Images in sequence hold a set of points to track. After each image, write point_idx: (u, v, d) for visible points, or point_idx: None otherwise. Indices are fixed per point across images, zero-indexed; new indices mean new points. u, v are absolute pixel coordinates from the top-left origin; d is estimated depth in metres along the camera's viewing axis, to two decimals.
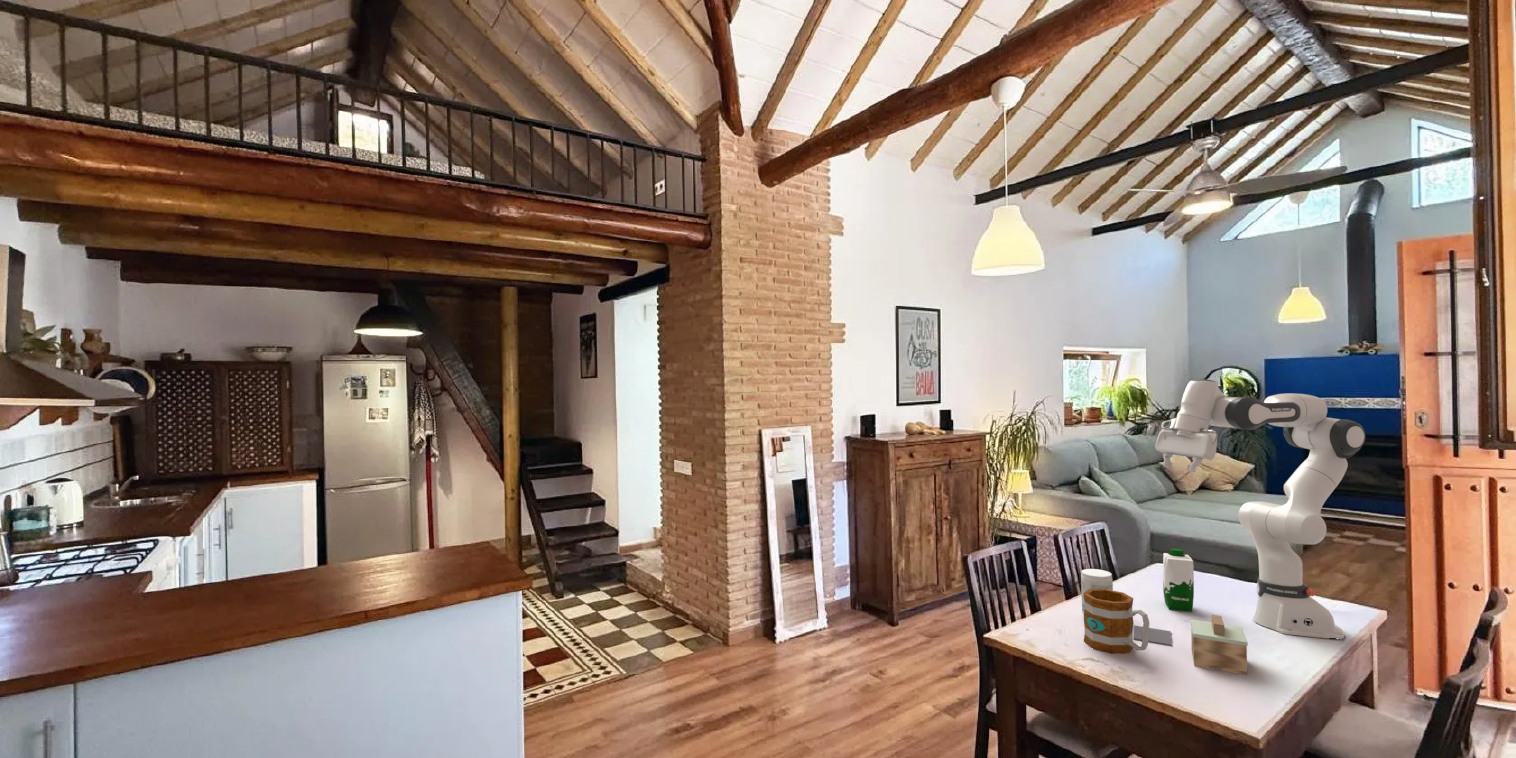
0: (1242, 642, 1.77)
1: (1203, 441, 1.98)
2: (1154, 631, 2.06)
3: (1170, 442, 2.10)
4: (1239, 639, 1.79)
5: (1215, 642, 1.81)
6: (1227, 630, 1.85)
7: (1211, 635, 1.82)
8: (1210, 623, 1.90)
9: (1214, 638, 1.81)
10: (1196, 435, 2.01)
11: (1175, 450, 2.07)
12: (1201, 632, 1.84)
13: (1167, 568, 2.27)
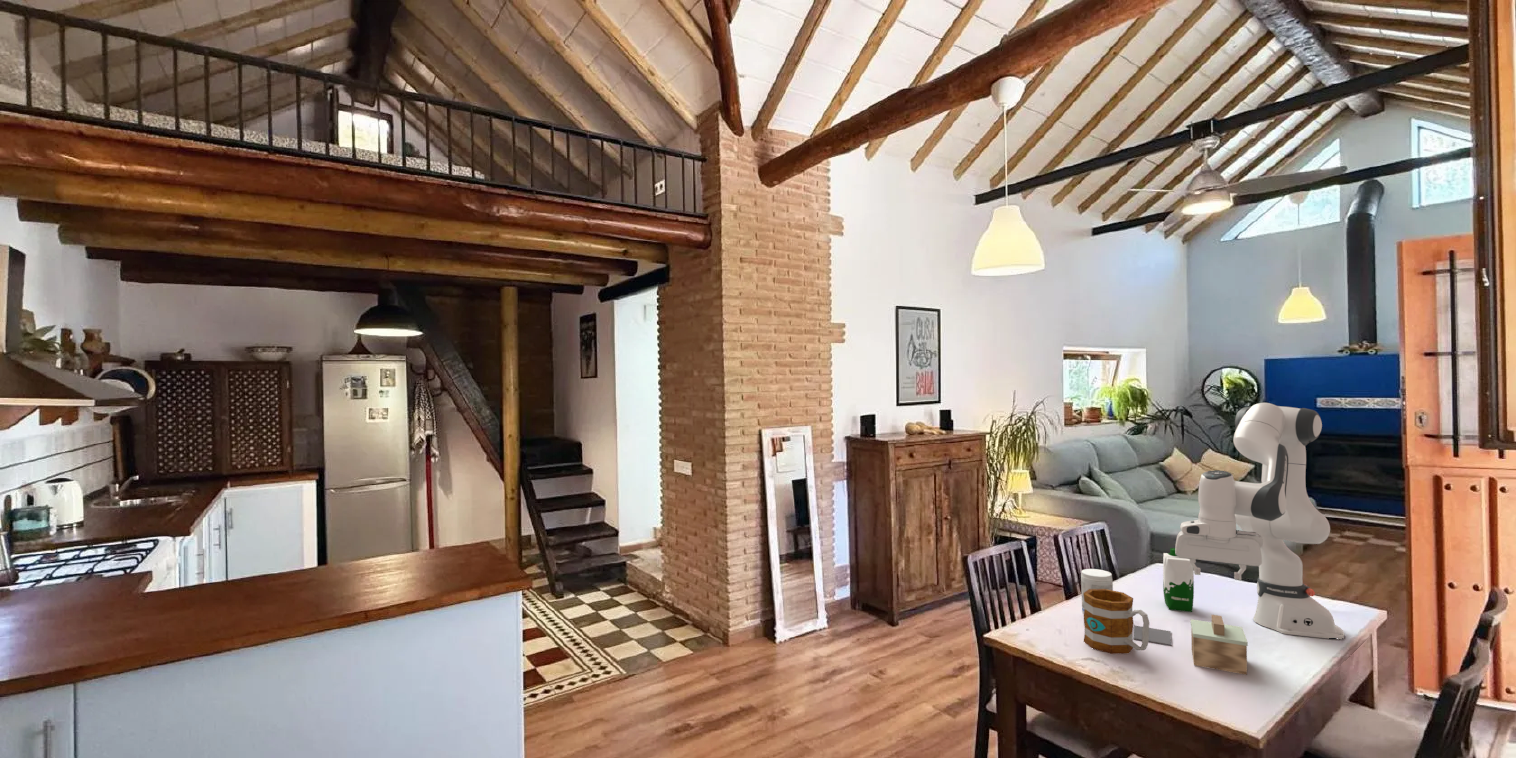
0: (1242, 642, 1.77)
1: (1253, 549, 1.79)
2: (1154, 631, 2.06)
3: (1199, 548, 1.86)
4: (1239, 639, 1.79)
5: (1215, 642, 1.81)
6: (1227, 630, 1.85)
7: (1211, 635, 1.82)
8: (1210, 623, 1.90)
9: (1214, 638, 1.81)
10: (1239, 541, 1.81)
11: (1213, 558, 1.84)
12: (1201, 632, 1.84)
13: (1167, 568, 2.27)
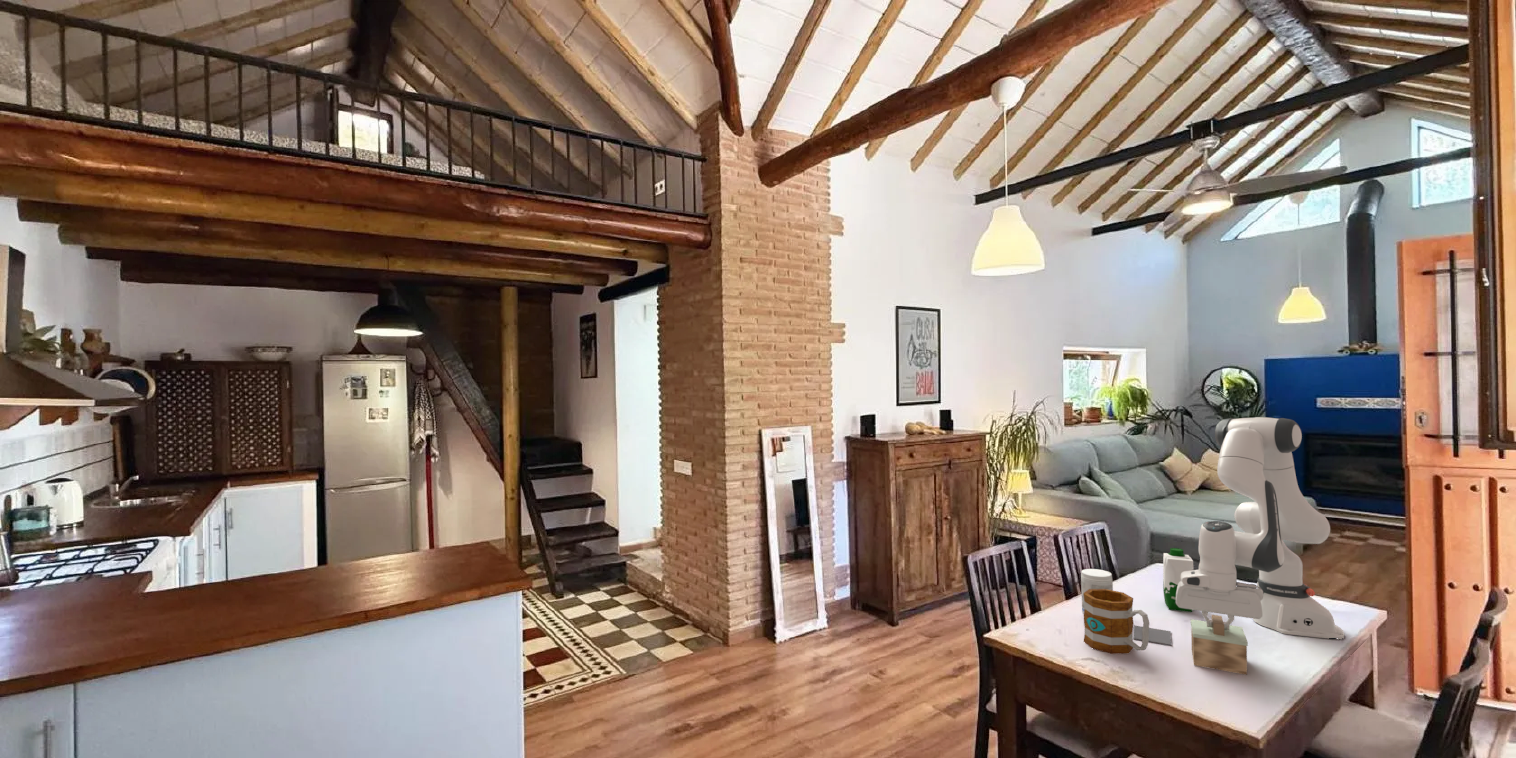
0: (1242, 642, 1.77)
1: (1253, 602, 1.80)
2: (1154, 631, 2.06)
3: (1200, 599, 1.86)
4: (1239, 639, 1.79)
5: (1215, 642, 1.81)
6: (1227, 630, 1.85)
7: (1211, 635, 1.82)
8: None
9: (1214, 638, 1.81)
10: (1239, 593, 1.81)
11: (1213, 610, 1.84)
12: (1201, 632, 1.84)
13: (1167, 568, 2.27)
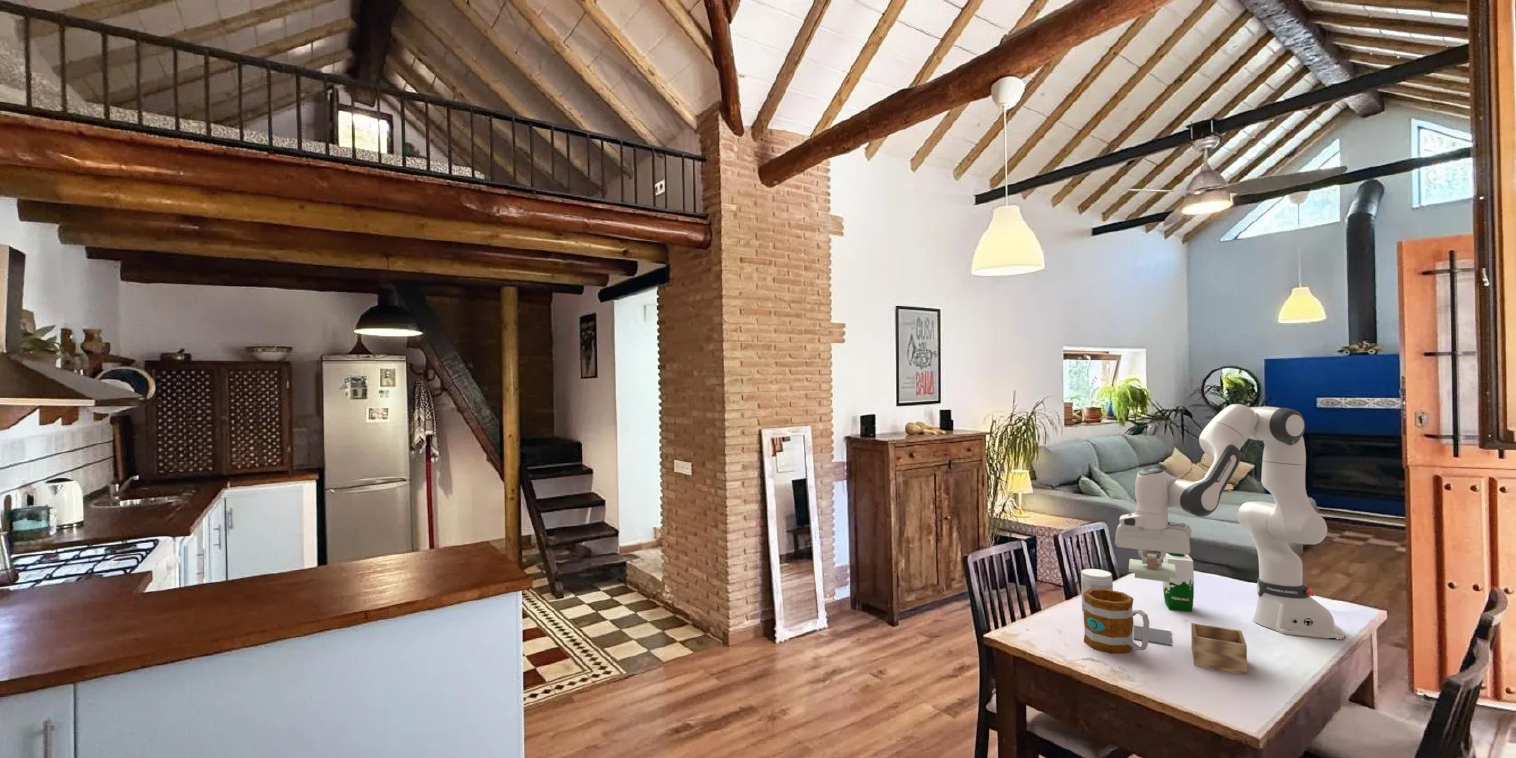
0: (1171, 575, 1.96)
1: (1182, 539, 1.98)
2: (1154, 631, 2.06)
3: (1136, 538, 2.04)
4: (1169, 572, 1.97)
5: (1215, 642, 1.81)
6: (1160, 566, 2.03)
7: (1144, 570, 2.00)
8: None
9: (1147, 572, 1.99)
10: (1170, 532, 2.00)
11: (1148, 548, 2.03)
12: (1136, 568, 2.02)
13: None
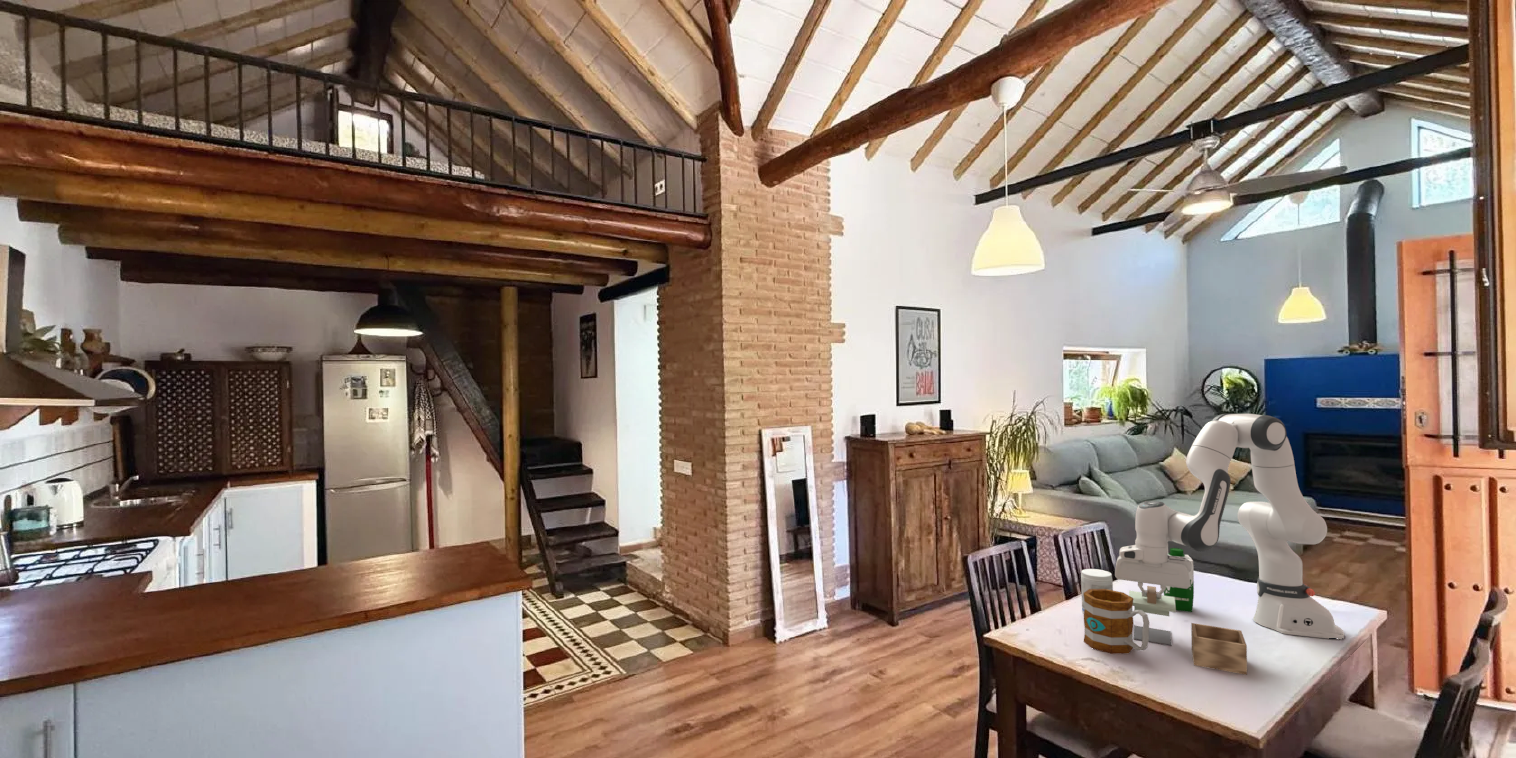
0: (1170, 609, 1.96)
1: (1182, 573, 1.98)
2: (1154, 631, 2.06)
3: (1136, 571, 2.04)
4: (1169, 606, 1.97)
5: (1215, 642, 1.81)
6: (1160, 599, 2.04)
7: (1144, 603, 2.00)
8: None
9: (1147, 606, 1.99)
10: (1170, 565, 2.00)
11: (1147, 581, 2.03)
12: (1136, 601, 2.02)
13: None
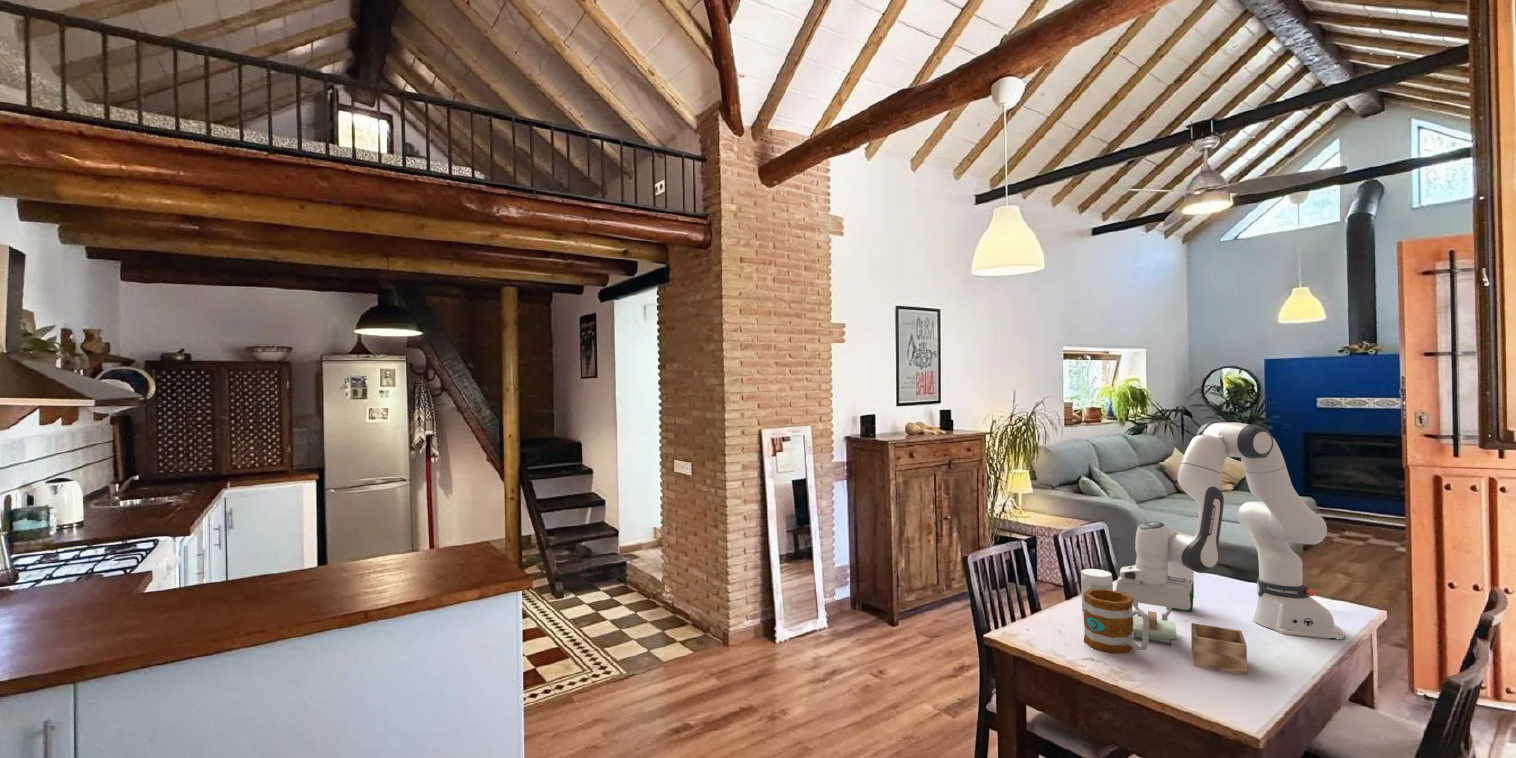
0: (1171, 636, 1.96)
1: (1183, 594, 1.98)
2: None
3: (1136, 592, 2.04)
4: (1169, 633, 1.97)
5: (1215, 642, 1.81)
6: (1161, 625, 2.04)
7: None
8: None
9: None
10: (1170, 587, 2.00)
11: (1148, 602, 2.03)
12: (1137, 627, 2.02)
13: None
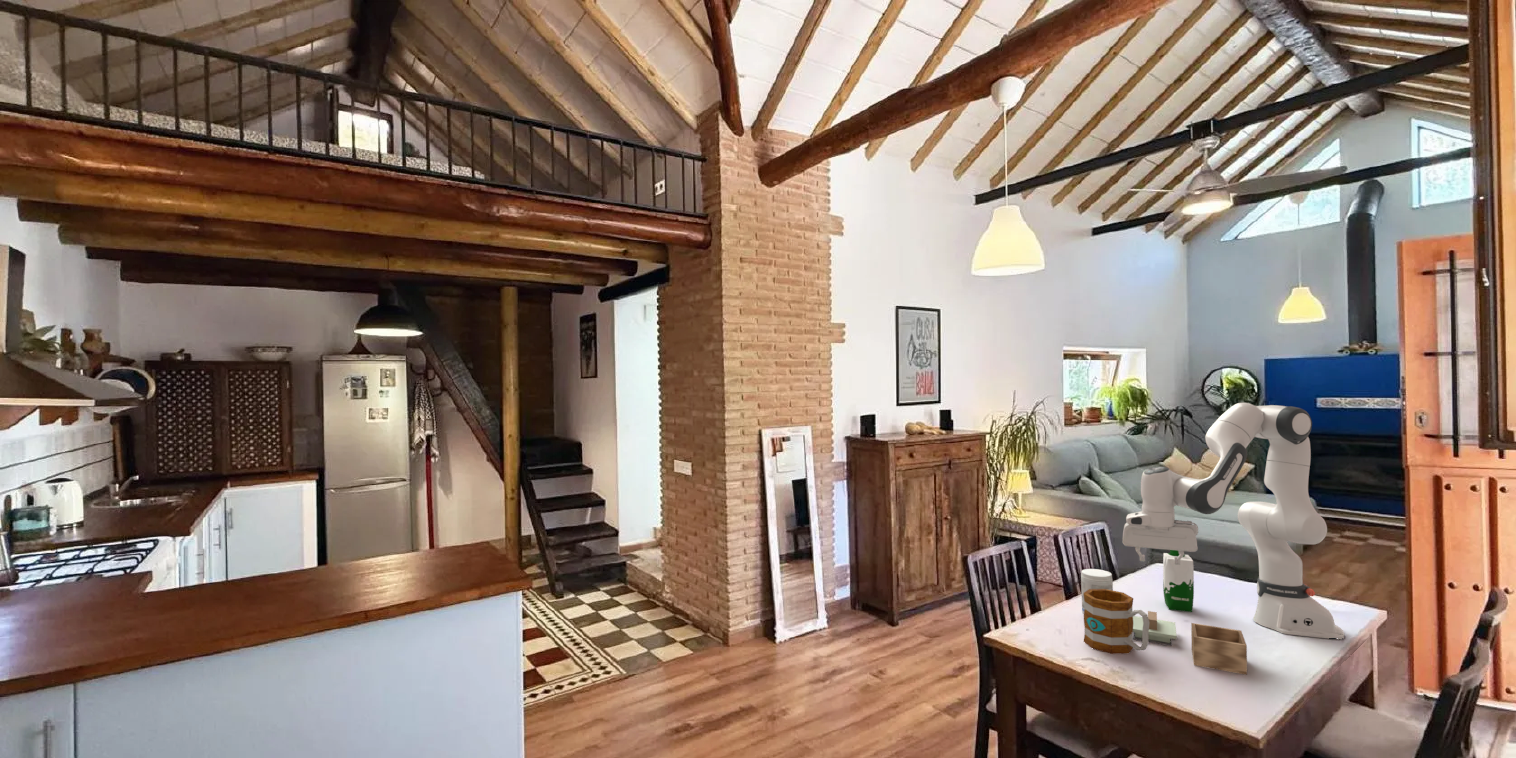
0: (1171, 636, 1.96)
1: (1189, 536, 1.99)
2: None
3: (1143, 537, 2.06)
4: (1169, 633, 1.97)
5: (1215, 642, 1.81)
6: (1161, 625, 2.04)
7: None
8: None
9: None
10: (1177, 530, 2.01)
11: (1155, 546, 2.04)
12: (1137, 627, 2.02)
13: (1167, 568, 2.27)
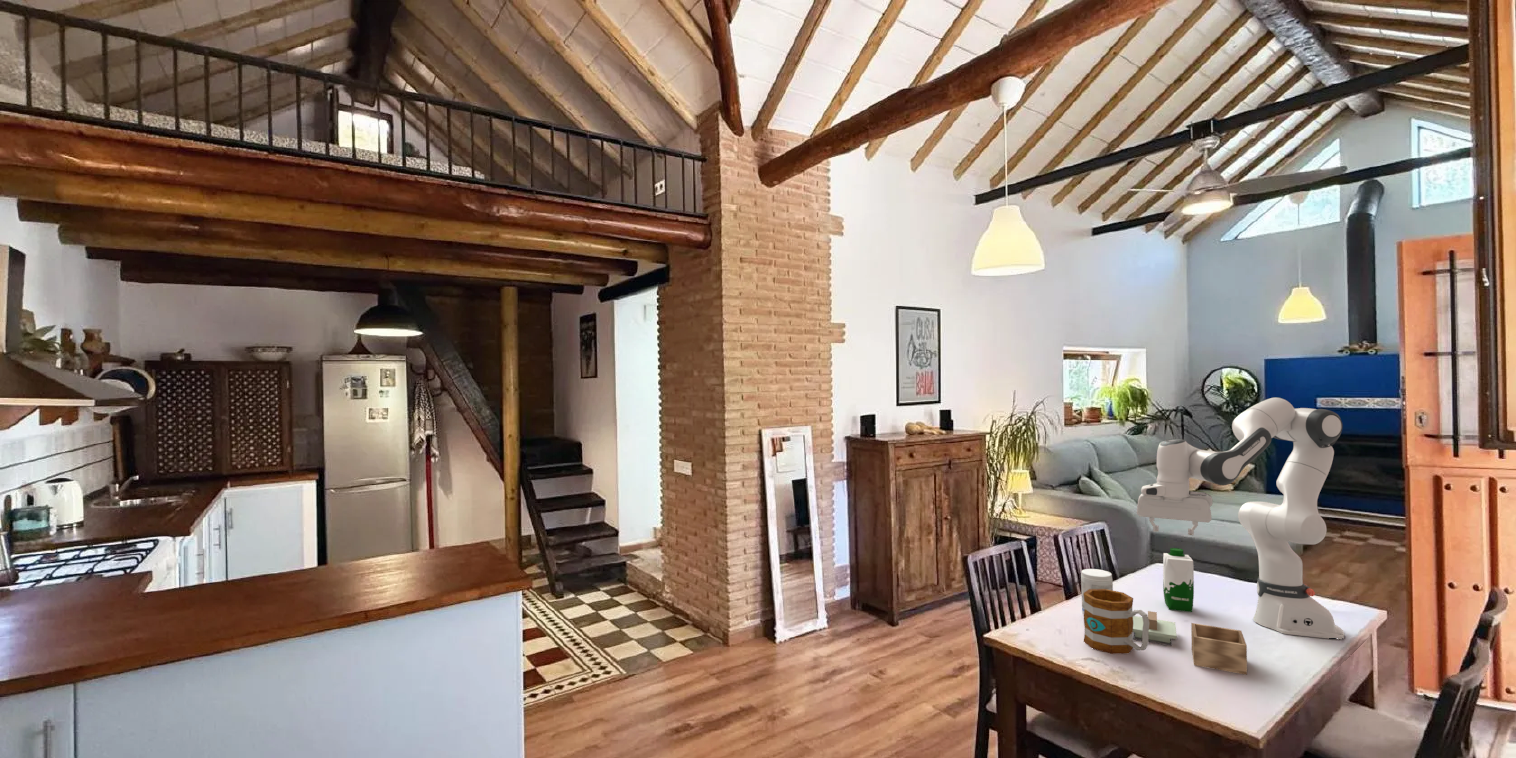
0: (1171, 636, 1.96)
1: (1203, 507, 2.03)
2: None
3: (1157, 508, 2.09)
4: (1169, 633, 1.97)
5: (1215, 642, 1.81)
6: (1161, 625, 2.04)
7: None
8: None
9: None
10: (1191, 500, 2.04)
11: (1169, 517, 2.07)
12: (1137, 627, 2.02)
13: (1167, 568, 2.27)
